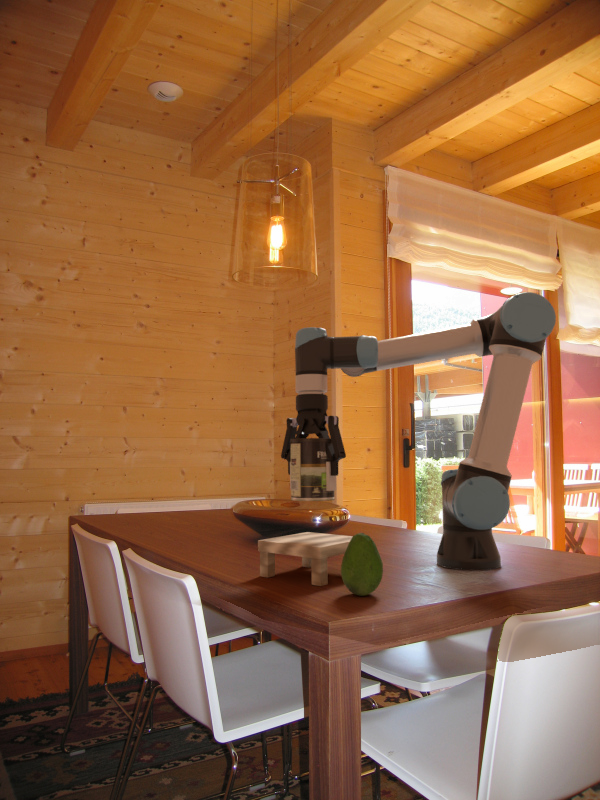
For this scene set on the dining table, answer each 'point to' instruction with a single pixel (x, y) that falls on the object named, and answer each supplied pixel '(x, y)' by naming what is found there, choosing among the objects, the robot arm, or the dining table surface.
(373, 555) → the fruit
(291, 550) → the footstool
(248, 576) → the dining table surface
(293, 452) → the coffee can
